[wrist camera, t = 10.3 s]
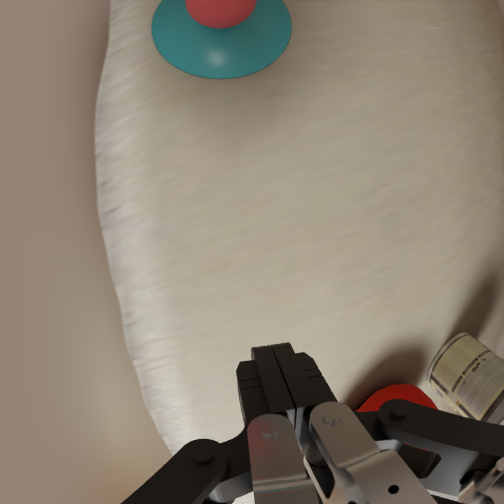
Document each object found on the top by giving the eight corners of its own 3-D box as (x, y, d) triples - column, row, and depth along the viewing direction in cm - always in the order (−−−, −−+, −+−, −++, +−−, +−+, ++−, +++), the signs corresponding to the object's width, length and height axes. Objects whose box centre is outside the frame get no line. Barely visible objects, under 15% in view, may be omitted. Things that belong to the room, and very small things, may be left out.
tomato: (424, 361, 33) (468, 405, 23) (396, 423, 37) (426, 465, 27) (342, 382, 31) (382, 444, 21) (322, 444, 34) (346, 497, 24)
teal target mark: (156, -20, 16) (156, -21, 15) (284, -21, 17) (285, -22, 17) (149, 85, 19) (149, 84, 19) (296, 80, 21) (296, 79, 21)
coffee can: (478, 334, 35) (533, 376, 21) (447, 385, 37) (493, 432, 23) (451, 327, 32) (517, 378, 19) (415, 385, 34) (467, 445, 21)
